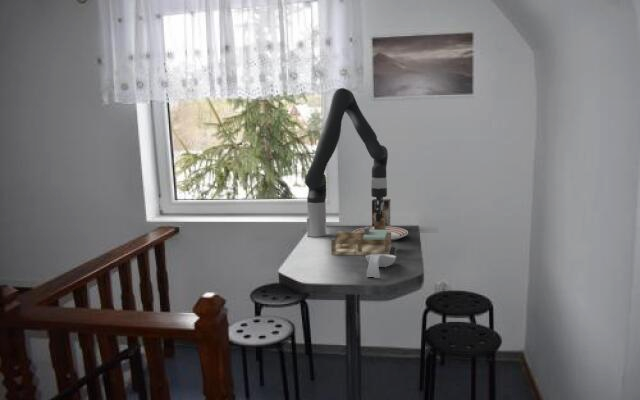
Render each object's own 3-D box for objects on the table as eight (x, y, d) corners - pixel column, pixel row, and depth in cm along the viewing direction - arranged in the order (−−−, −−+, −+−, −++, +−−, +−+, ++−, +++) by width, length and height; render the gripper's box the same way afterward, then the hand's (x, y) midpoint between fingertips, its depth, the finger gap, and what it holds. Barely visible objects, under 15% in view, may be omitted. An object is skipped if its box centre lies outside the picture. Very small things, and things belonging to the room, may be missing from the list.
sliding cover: (363, 239, 207) (362, 231, 206) (367, 231, 222) (367, 224, 222) (384, 239, 205) (384, 231, 204) (387, 231, 220) (387, 224, 220)
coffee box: (371, 230, 261) (371, 200, 259) (374, 228, 268) (373, 198, 265) (388, 231, 259) (388, 200, 257) (390, 228, 265) (390, 198, 263)
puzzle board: (331, 255, 210) (331, 239, 209) (338, 247, 226) (337, 231, 225) (388, 257, 205) (388, 240, 204) (391, 247, 221) (391, 232, 220)
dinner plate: (407, 245, 228) (407, 237, 227) (348, 244, 233) (348, 237, 233) (409, 232, 254) (408, 226, 254) (355, 232, 260) (355, 226, 259)
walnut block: (374, 232, 241) (374, 220, 241) (375, 230, 246) (375, 218, 245) (384, 232, 240) (384, 220, 239) (385, 230, 245) (385, 218, 244)
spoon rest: (368, 261, 200) (368, 244, 199) (397, 262, 197) (397, 245, 196) (357, 278, 178) (357, 258, 177) (390, 280, 175) (390, 260, 174)
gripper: (372, 185, 248) (373, 217, 250) (369, 188, 234) (369, 222, 236) (388, 185, 246) (388, 217, 248) (385, 188, 233) (385, 222, 235)
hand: (379, 219), depth 242 cm, fingers open, 8 cm apart
